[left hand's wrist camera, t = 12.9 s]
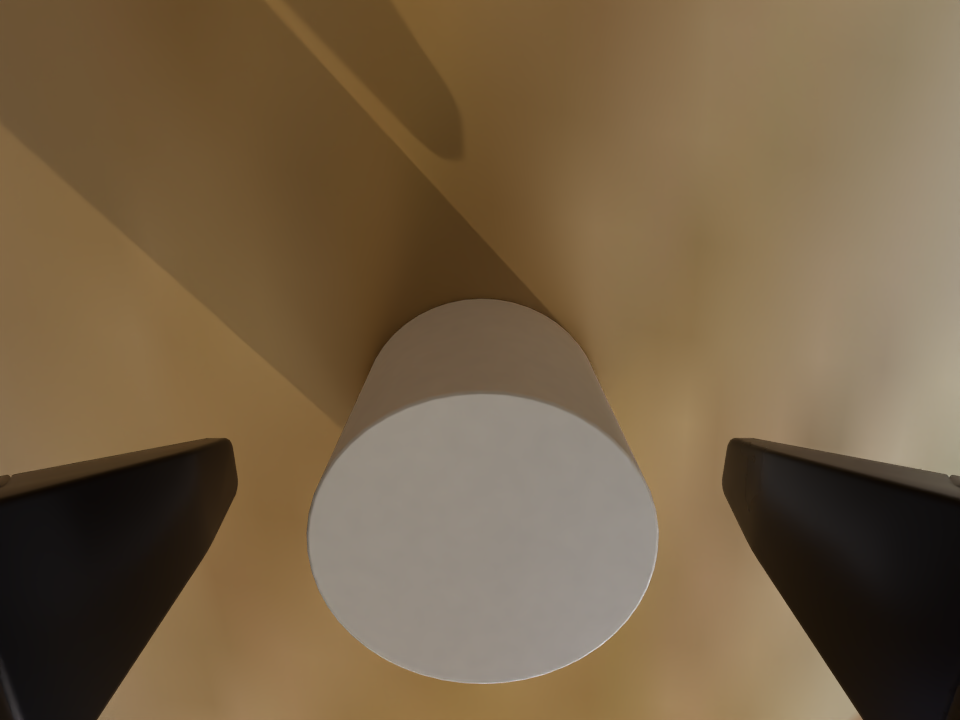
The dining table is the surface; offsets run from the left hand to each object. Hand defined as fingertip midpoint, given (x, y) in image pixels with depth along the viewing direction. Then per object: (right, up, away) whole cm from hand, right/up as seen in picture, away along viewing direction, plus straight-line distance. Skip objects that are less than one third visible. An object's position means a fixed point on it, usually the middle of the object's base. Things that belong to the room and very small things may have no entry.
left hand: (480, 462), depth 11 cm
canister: (0, +1, +2) cm, 2 cm away
